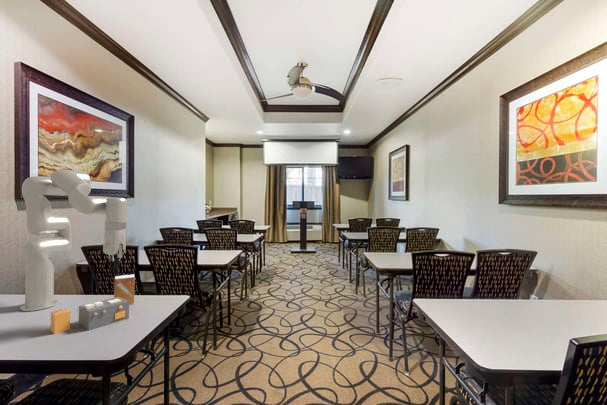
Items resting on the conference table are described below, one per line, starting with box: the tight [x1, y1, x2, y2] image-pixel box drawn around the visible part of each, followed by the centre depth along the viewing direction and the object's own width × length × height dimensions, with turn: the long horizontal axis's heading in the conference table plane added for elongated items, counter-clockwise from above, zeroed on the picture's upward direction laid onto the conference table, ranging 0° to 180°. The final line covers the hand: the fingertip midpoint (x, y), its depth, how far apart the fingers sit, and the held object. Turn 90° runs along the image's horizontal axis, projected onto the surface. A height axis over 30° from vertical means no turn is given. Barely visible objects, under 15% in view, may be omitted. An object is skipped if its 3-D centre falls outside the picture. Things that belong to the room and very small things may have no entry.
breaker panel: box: [78, 297, 130, 331], centre depth 113 cm, size 11×14×8 cm
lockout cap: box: [50, 308, 71, 335], centre depth 105 cm, size 4×4×7 cm
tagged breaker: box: [107, 299, 122, 304], centre depth 116 cm, size 4×4×6 cm
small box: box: [113, 274, 136, 305], centre depth 133 cm, size 8×6×13 cm
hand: (114, 270), depth 117 cm, fingers closed
